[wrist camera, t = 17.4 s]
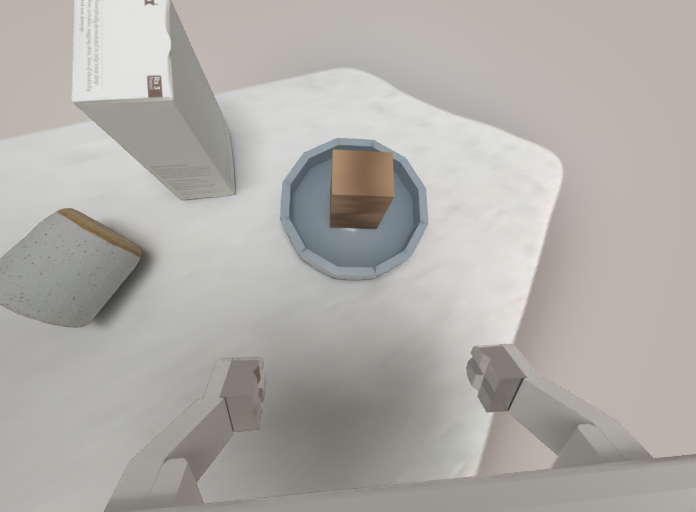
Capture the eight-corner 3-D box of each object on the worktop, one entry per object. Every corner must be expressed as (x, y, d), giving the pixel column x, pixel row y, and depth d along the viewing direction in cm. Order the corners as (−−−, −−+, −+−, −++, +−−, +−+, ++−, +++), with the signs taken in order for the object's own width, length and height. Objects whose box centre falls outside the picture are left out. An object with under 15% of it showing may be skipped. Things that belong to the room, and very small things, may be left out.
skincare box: (179, 136, 33) (66, -13, 18) (234, 132, 33) (167, -15, 19) (181, 205, 31) (58, 99, 16) (239, 198, 32) (170, 92, 17)
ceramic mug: (163, 257, 29) (108, 232, 22) (107, 329, 27) (25, 329, 20) (78, 207, 30) (-3, 167, 23) (17, 274, 28) (-94, 254, 21)
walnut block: (329, 227, 31) (331, 194, 23) (330, 192, 32) (332, 149, 24) (376, 229, 31) (394, 196, 23) (375, 194, 32) (392, 152, 24)
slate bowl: (281, 279, 30) (276, 274, 27) (288, 151, 33) (285, 135, 30) (421, 281, 31) (431, 276, 28) (414, 158, 35) (422, 142, 32)
